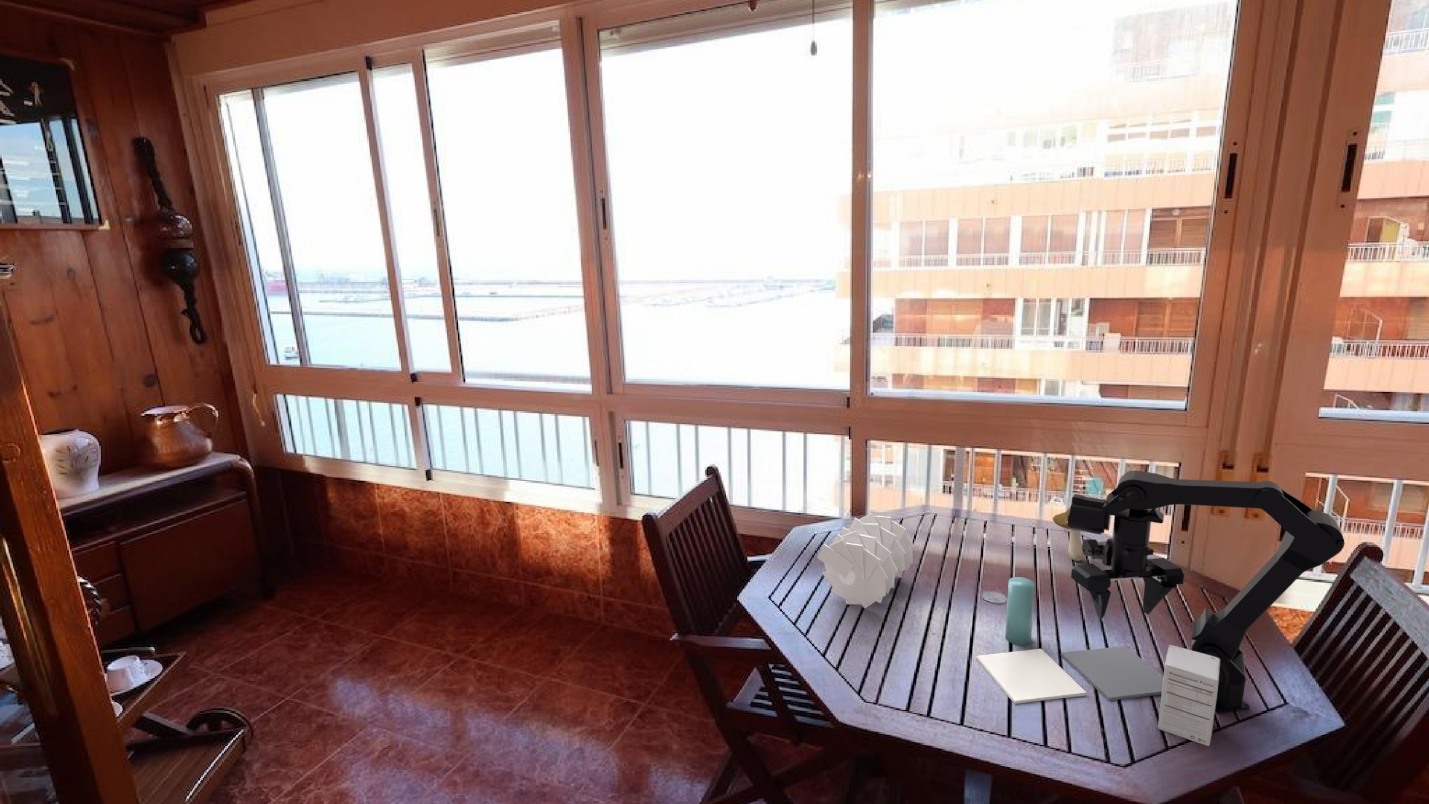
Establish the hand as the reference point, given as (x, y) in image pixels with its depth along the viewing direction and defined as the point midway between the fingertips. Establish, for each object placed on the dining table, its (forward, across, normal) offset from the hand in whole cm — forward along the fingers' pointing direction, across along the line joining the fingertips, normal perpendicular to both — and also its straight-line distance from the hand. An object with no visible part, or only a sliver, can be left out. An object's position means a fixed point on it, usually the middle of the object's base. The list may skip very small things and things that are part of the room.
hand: (1123, 615), depth 125 cm
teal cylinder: (+12, +13, -13) cm, 22 cm away
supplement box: (+12, -1, +16) cm, 20 cm away
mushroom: (+12, -20, -45) cm, 51 cm away
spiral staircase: (+12, +38, -38) cm, 55 cm away
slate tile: (+12, 0, +1) cm, 12 cm away
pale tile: (+12, +18, -1) cm, 21 cm away
